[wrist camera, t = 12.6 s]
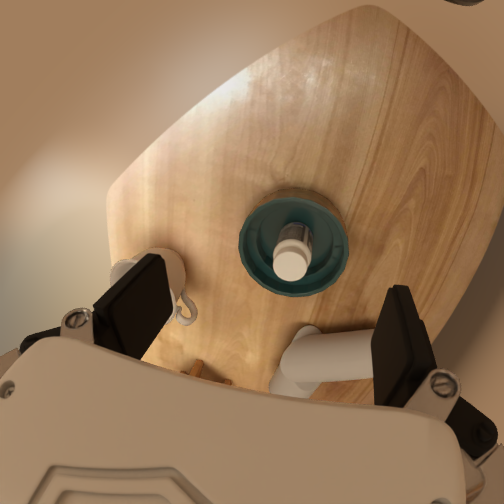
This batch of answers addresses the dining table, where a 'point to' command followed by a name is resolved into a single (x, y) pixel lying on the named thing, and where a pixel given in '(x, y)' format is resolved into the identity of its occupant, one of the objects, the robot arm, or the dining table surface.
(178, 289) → the teacup
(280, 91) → the dining table surface
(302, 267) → the pill bottle
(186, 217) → the dining table surface
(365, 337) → the beige tubular fitting
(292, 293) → the bowl
